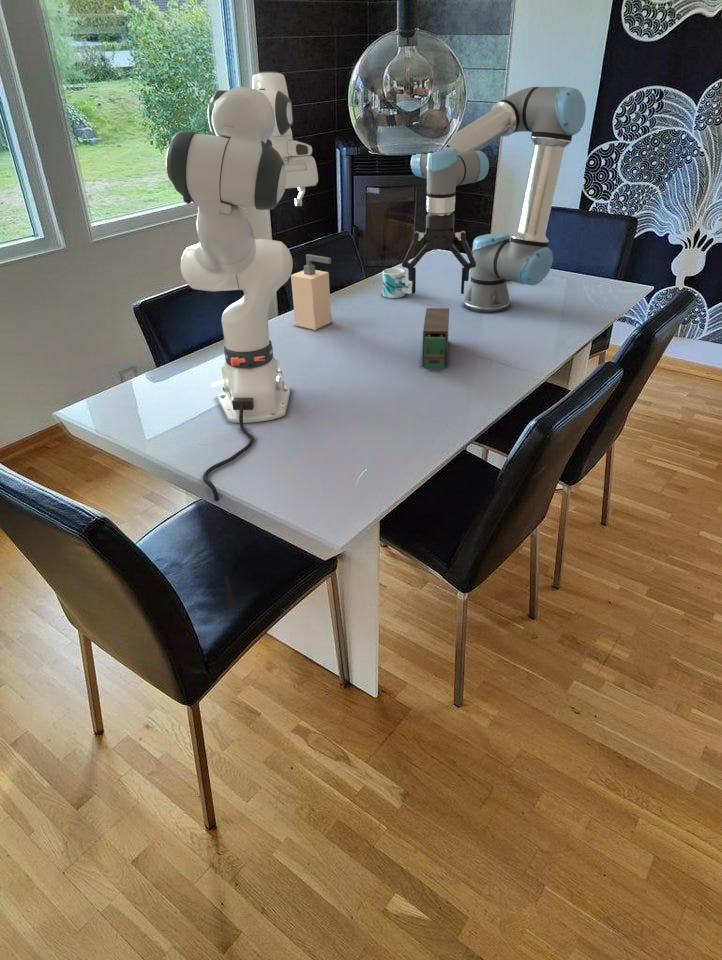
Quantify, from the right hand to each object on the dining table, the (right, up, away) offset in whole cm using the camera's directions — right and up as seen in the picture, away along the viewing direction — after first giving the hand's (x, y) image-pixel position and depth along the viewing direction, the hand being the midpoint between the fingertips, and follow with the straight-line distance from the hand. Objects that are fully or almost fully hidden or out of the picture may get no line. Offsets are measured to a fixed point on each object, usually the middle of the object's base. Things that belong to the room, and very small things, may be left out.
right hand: (438, 292), depth 189 cm
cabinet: (0, -16, +5) cm, 17 cm away
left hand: (-42, +17, -16) cm, 49 cm away
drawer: (-1, -19, -1) cm, 19 cm away
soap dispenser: (-36, -3, +28) cm, 45 cm away
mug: (-8, +13, +51) cm, 53 cm away
